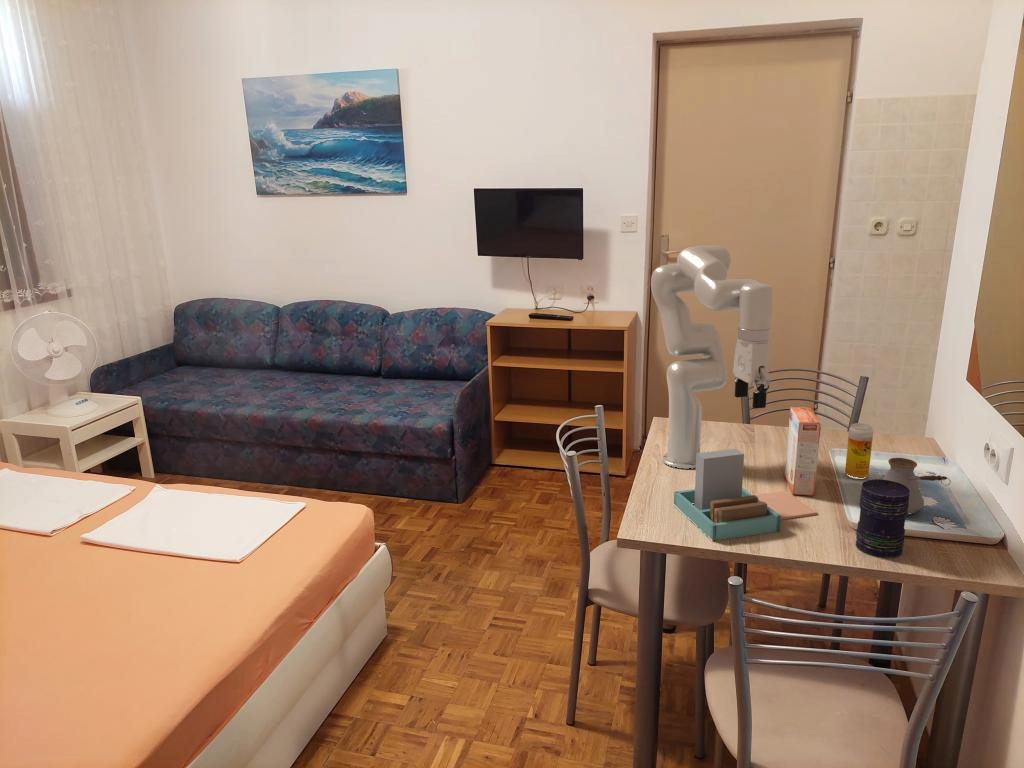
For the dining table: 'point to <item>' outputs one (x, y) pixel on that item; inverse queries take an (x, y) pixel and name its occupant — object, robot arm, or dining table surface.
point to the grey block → (718, 476)
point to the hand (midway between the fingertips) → (749, 402)
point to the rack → (726, 528)
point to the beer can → (859, 450)
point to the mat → (786, 505)
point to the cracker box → (802, 450)
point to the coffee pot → (909, 480)
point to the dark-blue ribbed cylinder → (882, 518)
